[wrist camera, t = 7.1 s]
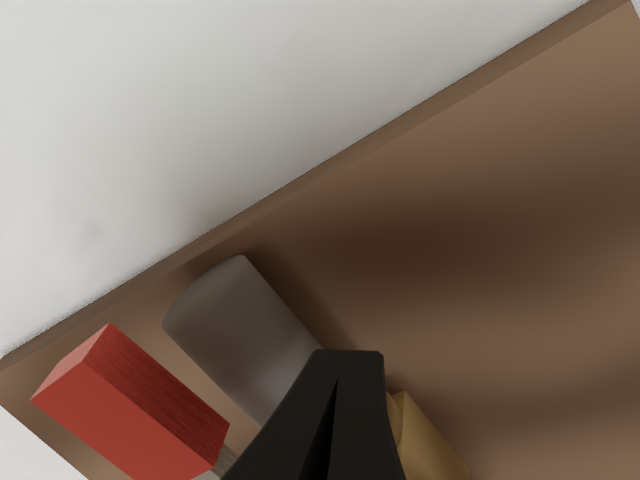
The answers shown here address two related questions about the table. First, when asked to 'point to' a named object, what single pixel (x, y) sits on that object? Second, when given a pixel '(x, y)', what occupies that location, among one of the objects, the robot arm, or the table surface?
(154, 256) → the table surface
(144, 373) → the valve lever
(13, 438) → the table surface
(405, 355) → the valve board
